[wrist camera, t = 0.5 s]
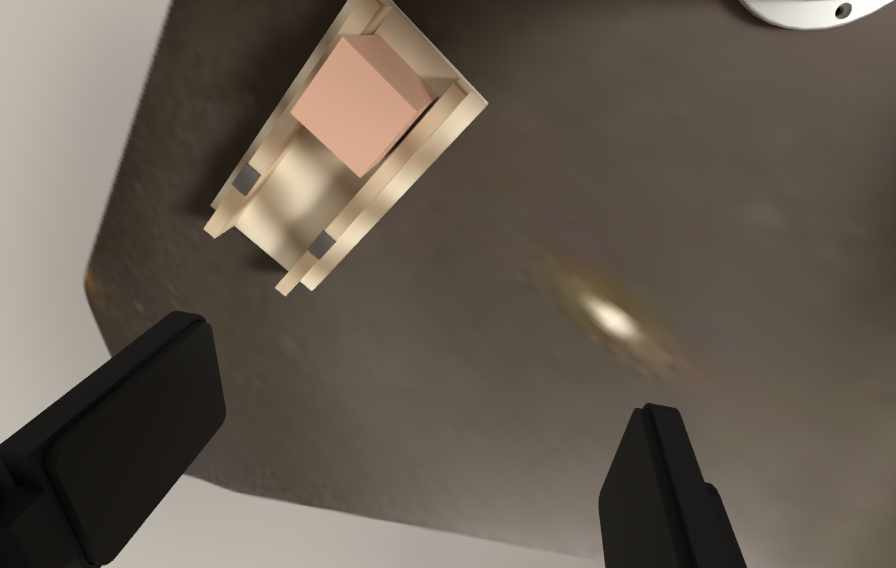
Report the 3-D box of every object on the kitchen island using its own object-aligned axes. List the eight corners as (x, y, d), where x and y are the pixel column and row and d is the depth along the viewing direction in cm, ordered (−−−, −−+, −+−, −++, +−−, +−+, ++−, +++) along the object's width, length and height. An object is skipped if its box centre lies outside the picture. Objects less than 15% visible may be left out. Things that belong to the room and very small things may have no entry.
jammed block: (378, 34, 34) (342, 36, 28) (439, 96, 35) (416, 111, 29) (332, 97, 37) (290, 112, 31) (389, 153, 38) (360, 178, 32)
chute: (370, -22, 34) (346, -29, 30) (488, 102, 36) (480, 113, 32) (219, 200, 45) (186, 218, 41) (318, 283, 47) (296, 308, 43)
